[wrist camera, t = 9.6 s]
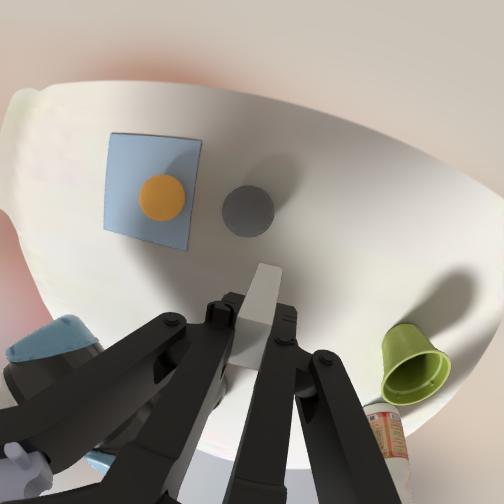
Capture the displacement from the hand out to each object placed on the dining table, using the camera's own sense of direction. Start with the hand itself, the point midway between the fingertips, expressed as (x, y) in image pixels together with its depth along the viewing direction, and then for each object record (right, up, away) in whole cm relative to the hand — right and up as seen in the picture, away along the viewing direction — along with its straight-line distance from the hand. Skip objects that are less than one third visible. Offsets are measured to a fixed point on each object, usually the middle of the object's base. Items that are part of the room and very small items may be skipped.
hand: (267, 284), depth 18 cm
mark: (-15, +10, +16) cm, 24 cm away
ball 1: (-11, +8, +13) cm, 19 cm away
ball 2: (-1, +6, +12) cm, 14 cm away
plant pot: (+20, -10, +16) cm, 28 cm away
